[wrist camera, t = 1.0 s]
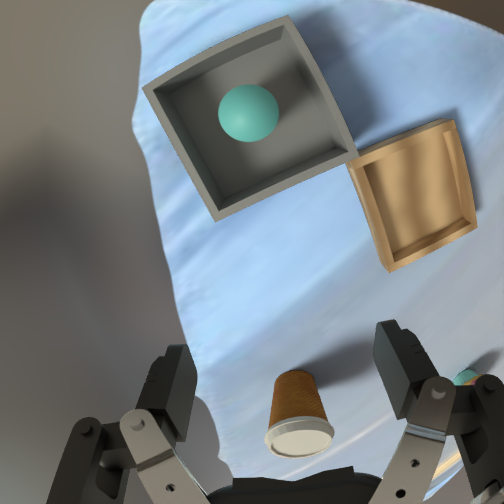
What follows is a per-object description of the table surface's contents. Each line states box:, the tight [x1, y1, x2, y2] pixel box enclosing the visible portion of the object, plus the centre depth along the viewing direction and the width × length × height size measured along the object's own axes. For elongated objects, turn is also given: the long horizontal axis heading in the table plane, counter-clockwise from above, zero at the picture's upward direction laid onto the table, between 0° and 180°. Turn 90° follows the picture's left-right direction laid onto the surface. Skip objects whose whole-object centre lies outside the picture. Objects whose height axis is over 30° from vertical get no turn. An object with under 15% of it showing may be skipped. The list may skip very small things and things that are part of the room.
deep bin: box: [142, 15, 360, 222], centre depth 27 cm, size 15×15×6 cm
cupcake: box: [453, 369, 482, 385], centre depth 40 cm, size 9×8×12 cm
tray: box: [345, 119, 478, 273], centre depth 30 cm, size 14×14×3 cm
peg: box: [218, 84, 279, 142], centre depth 24 cm, size 4×4×9 cm
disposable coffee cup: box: [264, 370, 334, 459], centre depth 39 cm, size 10×10×12 cm
